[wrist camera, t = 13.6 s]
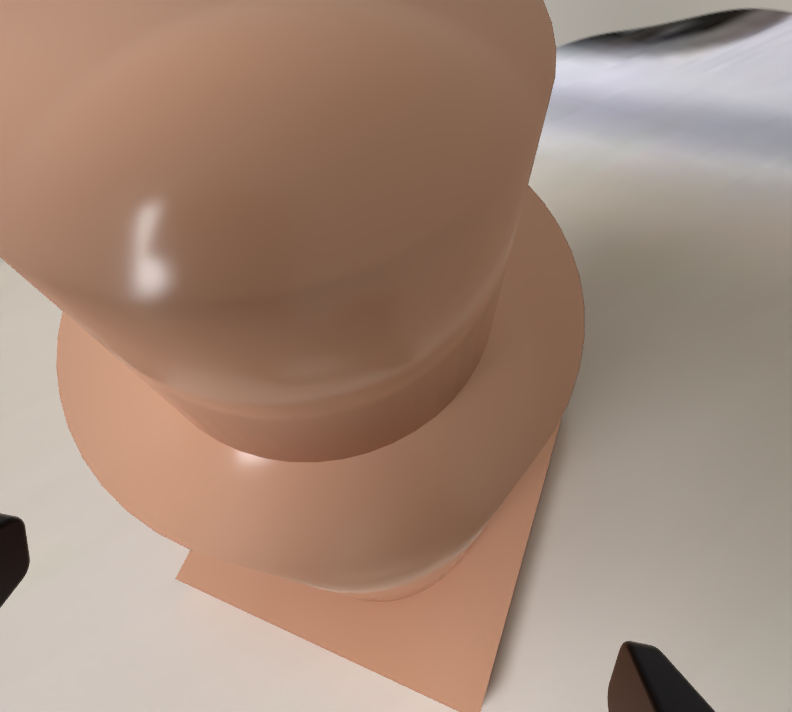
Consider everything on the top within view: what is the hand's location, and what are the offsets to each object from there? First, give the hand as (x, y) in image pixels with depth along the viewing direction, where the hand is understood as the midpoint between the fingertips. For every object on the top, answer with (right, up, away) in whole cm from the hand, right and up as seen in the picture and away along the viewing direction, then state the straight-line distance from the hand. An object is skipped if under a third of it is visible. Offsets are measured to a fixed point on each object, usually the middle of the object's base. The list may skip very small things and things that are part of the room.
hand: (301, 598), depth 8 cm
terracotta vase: (+1, -1, +8) cm, 8 cm away
